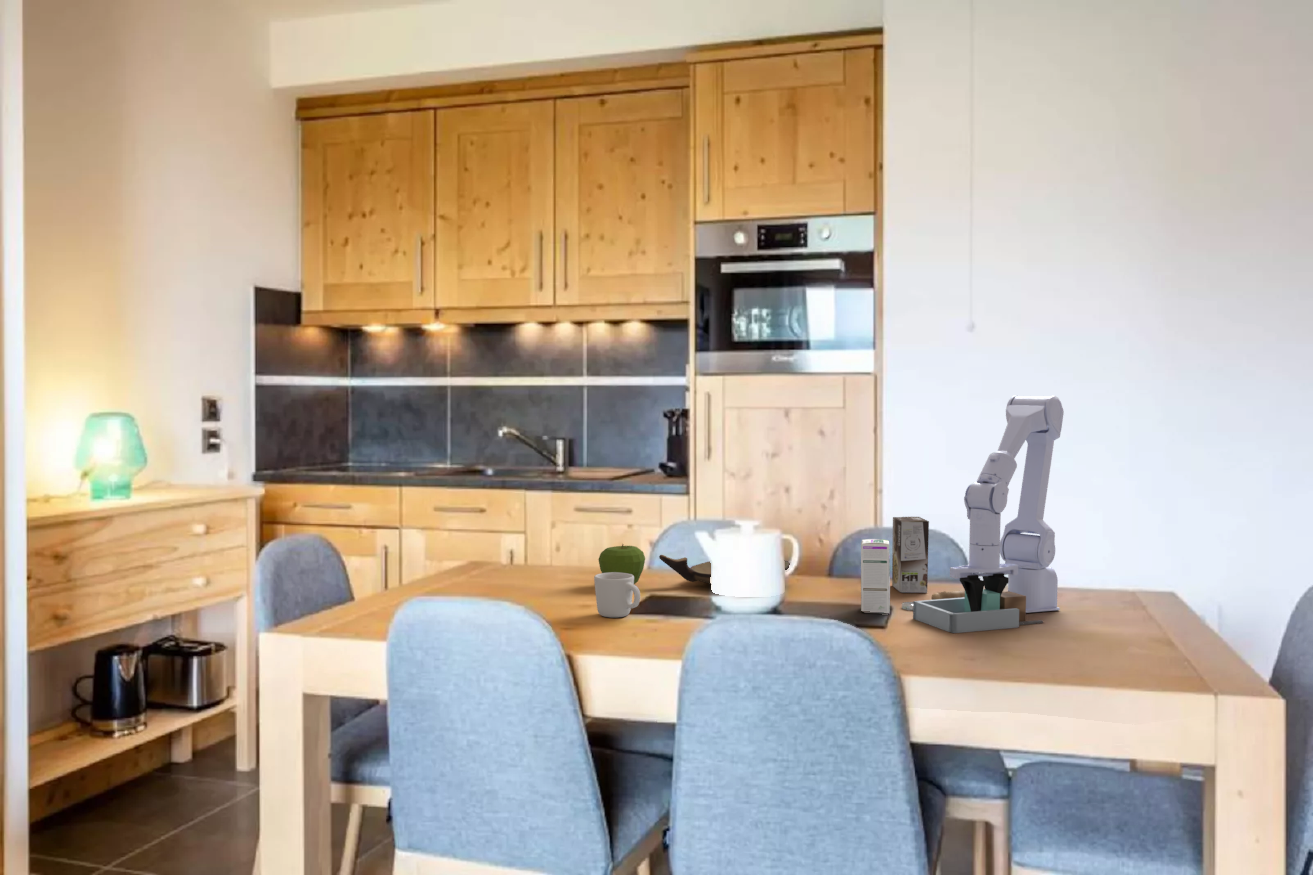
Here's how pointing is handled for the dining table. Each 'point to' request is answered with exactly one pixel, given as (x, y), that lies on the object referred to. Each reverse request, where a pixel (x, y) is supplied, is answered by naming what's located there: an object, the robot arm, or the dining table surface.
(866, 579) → the syrup box
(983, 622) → the tray
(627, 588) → the cup
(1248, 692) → the dining table surface
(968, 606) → the green block
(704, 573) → the oil lamp
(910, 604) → the washer
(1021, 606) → the cube
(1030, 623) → the strips
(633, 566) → the apple
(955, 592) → the dowel
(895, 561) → the coffee box
